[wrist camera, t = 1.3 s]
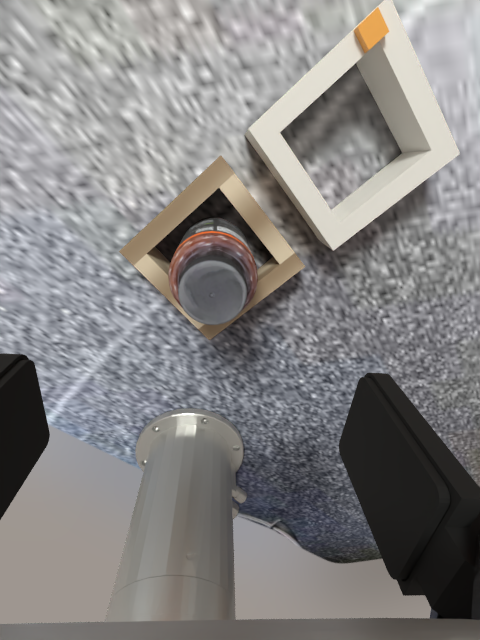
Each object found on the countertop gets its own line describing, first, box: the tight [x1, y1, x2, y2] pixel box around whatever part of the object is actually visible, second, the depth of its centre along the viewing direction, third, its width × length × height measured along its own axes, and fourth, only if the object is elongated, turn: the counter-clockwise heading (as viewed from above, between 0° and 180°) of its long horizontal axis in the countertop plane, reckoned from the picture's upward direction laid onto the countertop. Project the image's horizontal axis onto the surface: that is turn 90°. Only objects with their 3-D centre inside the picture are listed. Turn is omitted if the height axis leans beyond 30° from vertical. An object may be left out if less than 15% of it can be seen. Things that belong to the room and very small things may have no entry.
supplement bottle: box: [168, 218, 258, 325], centre depth 23 cm, size 6×6×11 cm
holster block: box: [119, 156, 305, 340], centre depth 27 cm, size 11×11×3 cm
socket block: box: [245, 0, 460, 251], centre depth 23 cm, size 11×11×5 cm
